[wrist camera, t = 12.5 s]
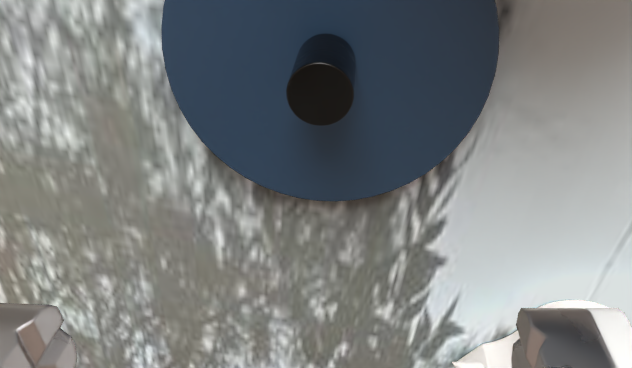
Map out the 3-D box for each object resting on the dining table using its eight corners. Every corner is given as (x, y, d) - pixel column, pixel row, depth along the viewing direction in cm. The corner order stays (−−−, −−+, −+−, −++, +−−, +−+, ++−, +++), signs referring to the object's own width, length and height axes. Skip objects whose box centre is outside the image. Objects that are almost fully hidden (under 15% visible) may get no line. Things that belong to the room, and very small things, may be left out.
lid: (480, 186, 26) (500, 246, 22) (202, 192, 27) (174, 249, 23) (511, -149, 19) (549, -148, 15) (134, -116, 20) (77, -108, 16)
